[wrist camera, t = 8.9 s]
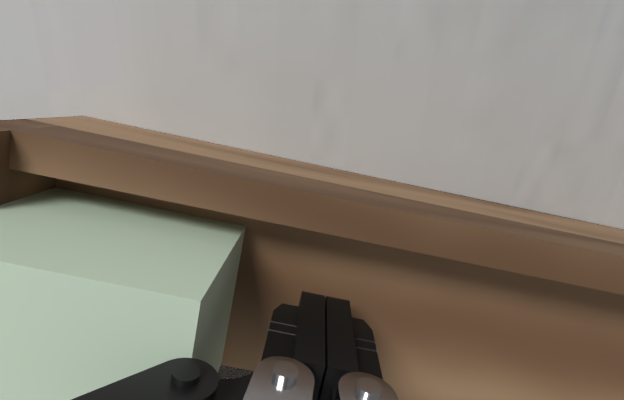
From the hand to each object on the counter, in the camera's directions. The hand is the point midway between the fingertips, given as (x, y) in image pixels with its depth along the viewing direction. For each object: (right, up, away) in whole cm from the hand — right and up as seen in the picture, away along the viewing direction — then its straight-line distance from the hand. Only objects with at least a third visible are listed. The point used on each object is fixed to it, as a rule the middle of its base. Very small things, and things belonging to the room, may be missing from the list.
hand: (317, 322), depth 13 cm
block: (-6, +1, +1) cm, 6 cm away
